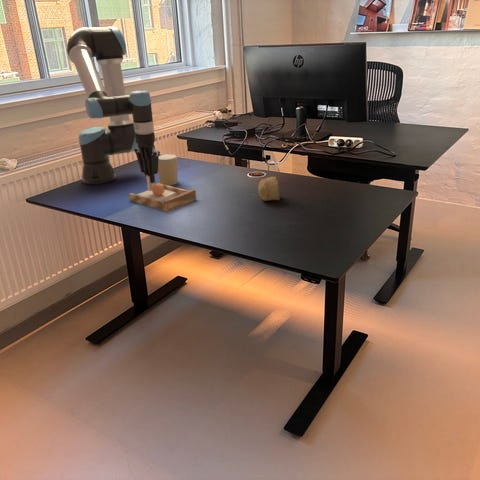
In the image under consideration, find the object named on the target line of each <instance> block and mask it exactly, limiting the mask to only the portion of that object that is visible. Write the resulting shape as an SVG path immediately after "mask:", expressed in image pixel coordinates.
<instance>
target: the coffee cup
mask: <svg viewBox="0 0 480 480" xmlns="http://www.w3.org/2000/svg"><path fill="white" fill-rule="evenodd" d="M157 174H158V179H159V183H160V184H164V185H168V186H175V185H176V184H178V157H177V155H176V154H172V153H171V154H170V153H166V154H161V155H159V161H158V173H157Z"/></svg>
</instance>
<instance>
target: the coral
mask: <svg viewBox="0 0 480 480" xmlns="http://www.w3.org/2000/svg"><path fill="white" fill-rule="evenodd" d="M257 188H258V195H259V196H260V198H261V199H262V200H263V201H264V202H265V201H266V202H267V201H268V202H269V201H280V200H281V199H280V191H279V188H280V187H279V182H278V180H277V176H271V177H270V176H269V177H266V178H263V179H261V180H260V182H259V183H258V186H257Z"/></svg>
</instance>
